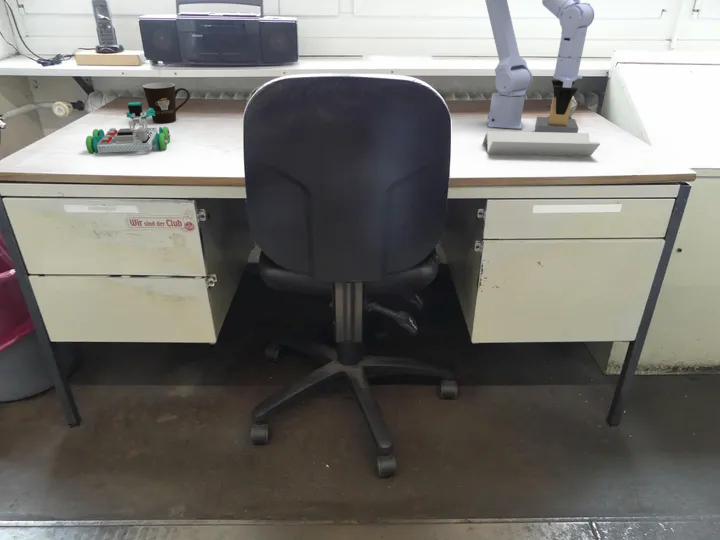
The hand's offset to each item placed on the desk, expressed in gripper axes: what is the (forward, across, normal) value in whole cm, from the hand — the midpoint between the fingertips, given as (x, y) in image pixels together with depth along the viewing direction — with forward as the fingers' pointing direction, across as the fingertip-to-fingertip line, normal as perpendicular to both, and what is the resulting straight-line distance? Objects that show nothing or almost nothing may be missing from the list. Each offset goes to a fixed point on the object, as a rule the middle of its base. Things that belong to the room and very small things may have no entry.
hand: (559, 111), depth 142 cm
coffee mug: (+7, -14, +108) cm, 110 cm away
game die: (+7, +22, -4) cm, 23 cm away
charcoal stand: (+7, 0, 0) cm, 7 cm away
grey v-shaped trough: (+7, -16, +5) cm, 18 cm away
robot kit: (+8, -36, +106) cm, 112 cm away
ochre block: (+3, 0, 0) cm, 3 cm away
